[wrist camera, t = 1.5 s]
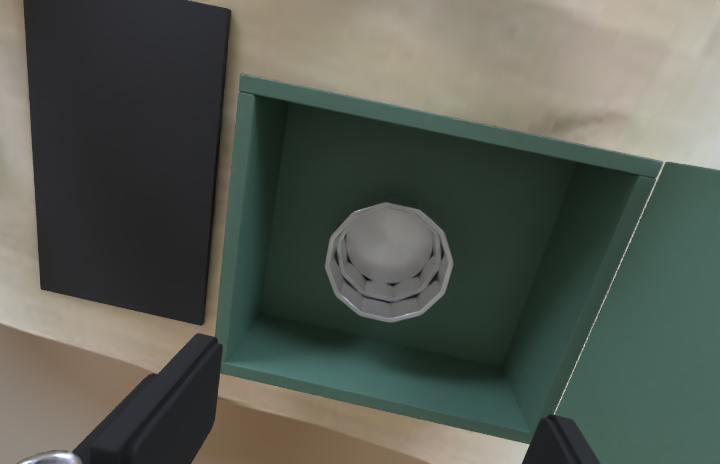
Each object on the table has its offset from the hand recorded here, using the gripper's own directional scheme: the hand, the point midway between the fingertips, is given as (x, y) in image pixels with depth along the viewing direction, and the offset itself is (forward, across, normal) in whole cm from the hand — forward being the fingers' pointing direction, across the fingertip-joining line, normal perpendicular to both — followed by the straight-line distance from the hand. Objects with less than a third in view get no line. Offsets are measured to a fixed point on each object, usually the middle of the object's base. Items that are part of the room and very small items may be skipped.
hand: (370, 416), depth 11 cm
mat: (+16, +19, -2) cm, 25 cm away
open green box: (+16, -1, -1) cm, 16 cm away
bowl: (+15, 0, -1) cm, 15 cm away
